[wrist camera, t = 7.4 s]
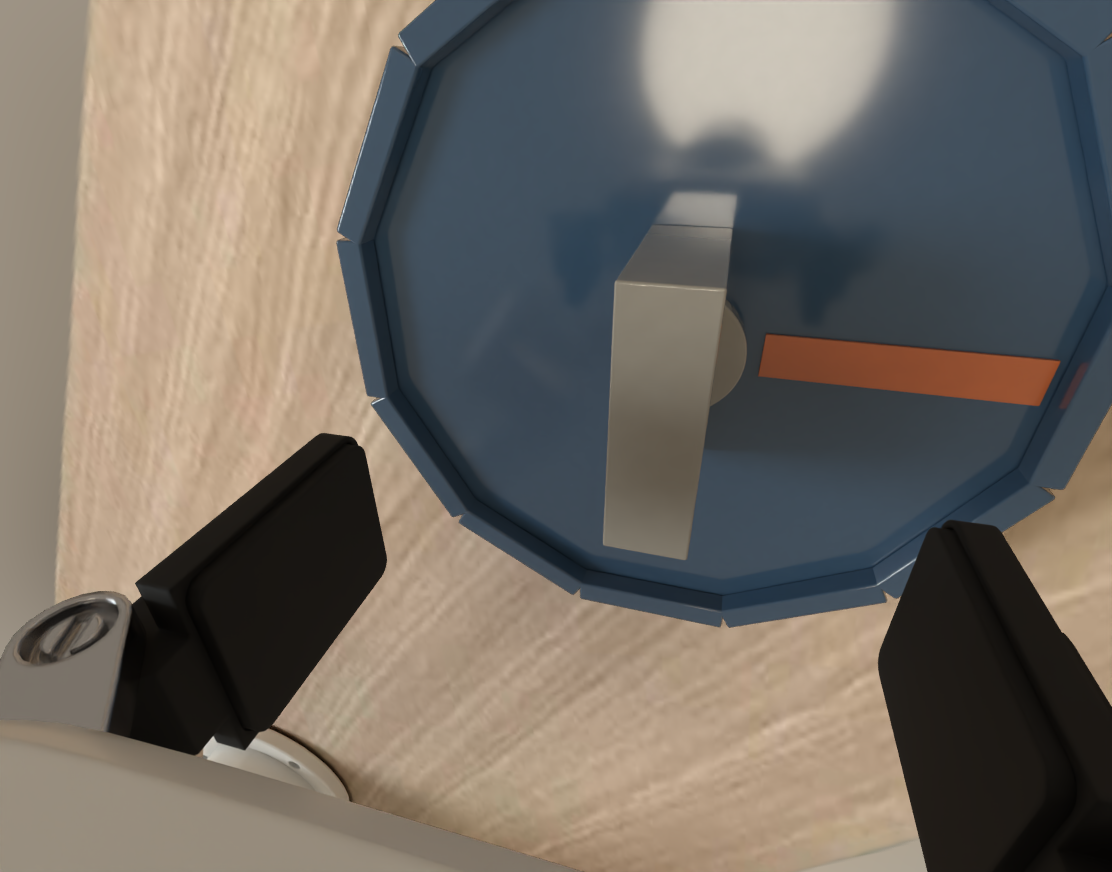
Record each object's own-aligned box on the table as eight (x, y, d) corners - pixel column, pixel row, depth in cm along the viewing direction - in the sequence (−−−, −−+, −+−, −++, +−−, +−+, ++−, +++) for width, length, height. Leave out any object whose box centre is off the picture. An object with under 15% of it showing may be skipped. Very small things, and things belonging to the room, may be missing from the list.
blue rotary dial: (418, 535, 24) (337, 647, 19) (310, -88, 14) (83, -175, 9) (946, 638, 20) (1009, 818, 15) (1365, -183, 9) (2009, -455, 5)
